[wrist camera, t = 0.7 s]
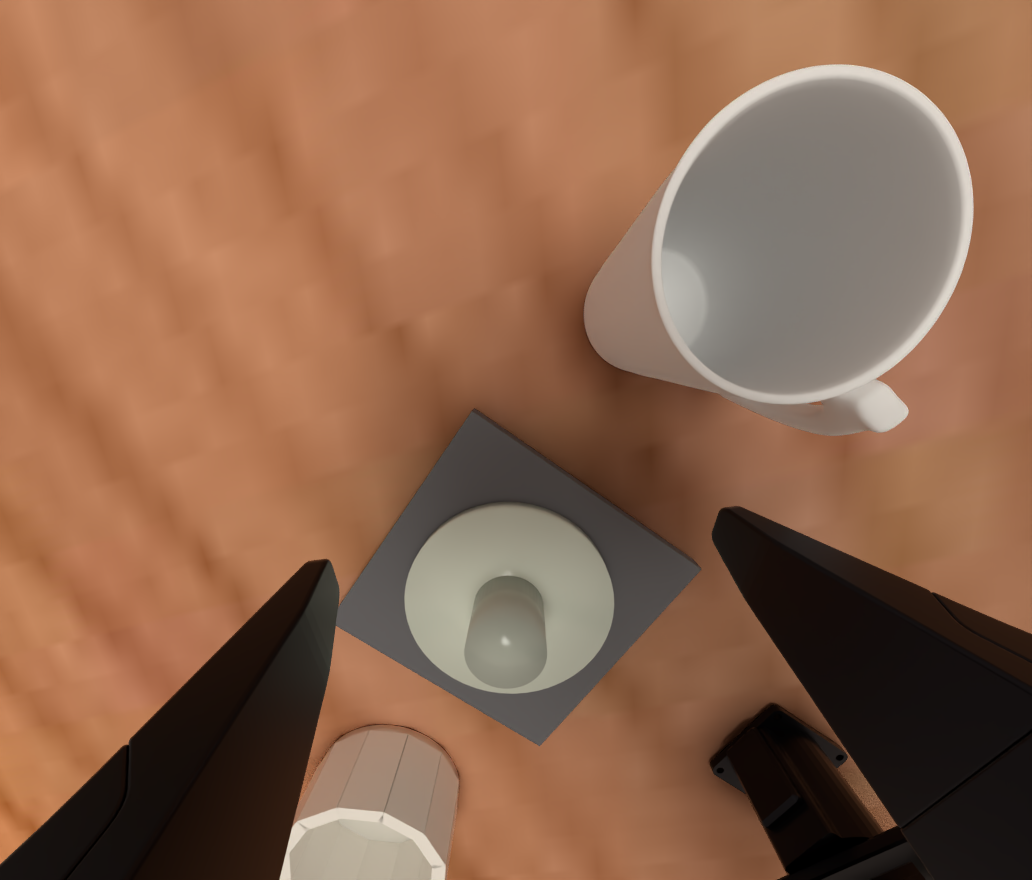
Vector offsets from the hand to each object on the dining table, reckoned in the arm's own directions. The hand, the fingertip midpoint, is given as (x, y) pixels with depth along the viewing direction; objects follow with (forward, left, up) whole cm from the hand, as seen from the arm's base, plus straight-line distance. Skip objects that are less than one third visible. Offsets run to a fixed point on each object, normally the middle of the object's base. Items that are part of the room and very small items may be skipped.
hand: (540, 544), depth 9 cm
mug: (-3, -8, -13) cm, 16 cm away
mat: (-5, +9, -13) cm, 16 cm away
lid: (-5, +9, -12) cm, 16 cm away
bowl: (-7, +27, -13) cm, 31 cm away
